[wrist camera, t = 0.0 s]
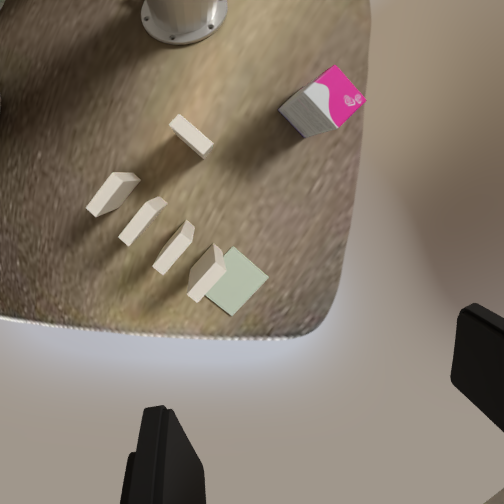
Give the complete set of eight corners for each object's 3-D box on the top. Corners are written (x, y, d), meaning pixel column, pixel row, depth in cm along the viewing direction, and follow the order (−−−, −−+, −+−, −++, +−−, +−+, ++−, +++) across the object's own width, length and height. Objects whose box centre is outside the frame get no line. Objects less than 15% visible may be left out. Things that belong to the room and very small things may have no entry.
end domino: (203, 159, 42) (203, 154, 32) (176, 135, 41) (168, 124, 31) (211, 150, 42) (213, 143, 32) (185, 127, 40) (179, 113, 31)
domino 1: (110, 200, 41) (85, 208, 32) (132, 172, 41) (112, 172, 31) (118, 207, 42) (95, 217, 32) (141, 180, 41) (123, 181, 32)
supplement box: (305, 140, 43) (336, 130, 32) (276, 110, 42) (299, 90, 31) (331, 115, 43) (368, 100, 32) (304, 85, 41) (333, 61, 30)
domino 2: (136, 223, 43) (118, 237, 33) (159, 195, 42) (145, 202, 33) (145, 230, 43) (128, 246, 33) (167, 203, 43) (157, 211, 33)
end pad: (195, 286, 46) (195, 287, 46) (232, 245, 45) (232, 246, 45) (231, 315, 48) (232, 316, 47) (268, 276, 47) (268, 277, 47)
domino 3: (163, 246, 44) (152, 266, 34) (186, 219, 43) (180, 232, 34) (171, 253, 44) (163, 275, 35) (194, 227, 44) (192, 241, 34)
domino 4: (190, 269, 45) (186, 294, 36) (213, 243, 45) (215, 261, 35) (198, 276, 46) (197, 302, 36) (221, 250, 45) (226, 271, 36)
